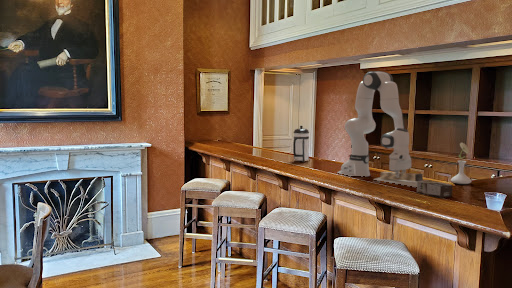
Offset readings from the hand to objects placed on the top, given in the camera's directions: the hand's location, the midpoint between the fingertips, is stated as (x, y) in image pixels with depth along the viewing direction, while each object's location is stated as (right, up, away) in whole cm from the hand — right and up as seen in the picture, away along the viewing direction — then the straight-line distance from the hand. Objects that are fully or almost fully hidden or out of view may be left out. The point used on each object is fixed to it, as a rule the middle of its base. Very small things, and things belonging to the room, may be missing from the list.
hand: (400, 176), depth 254 cm
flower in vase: (+36, -4, -3) cm, 36 cm away
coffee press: (-52, +5, +87) cm, 102 cm away
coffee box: (+4, -3, -24) cm, 24 cm away
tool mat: (0, -4, 0) cm, 4 cm away
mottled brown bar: (0, -2, 0) cm, 2 cm away
